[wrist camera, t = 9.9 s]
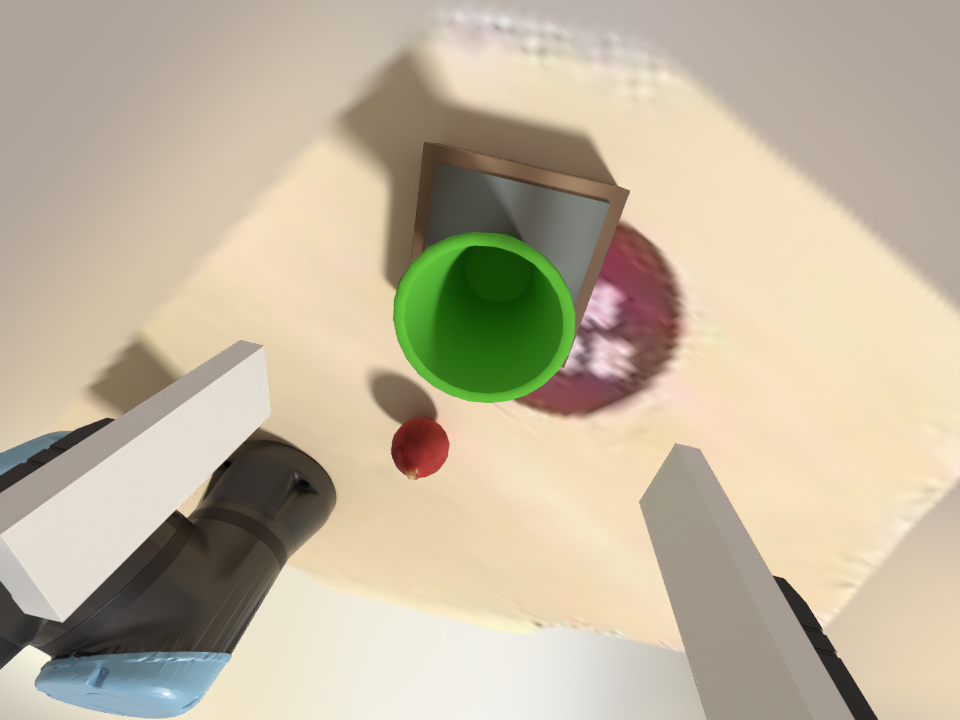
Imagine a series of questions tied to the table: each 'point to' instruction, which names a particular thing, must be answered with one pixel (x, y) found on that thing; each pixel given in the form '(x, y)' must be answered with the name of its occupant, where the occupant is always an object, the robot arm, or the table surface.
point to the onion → (419, 448)
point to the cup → (484, 317)
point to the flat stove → (519, 211)
